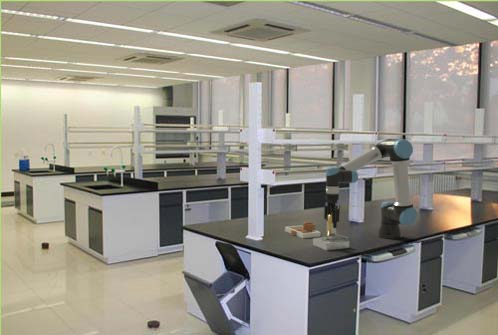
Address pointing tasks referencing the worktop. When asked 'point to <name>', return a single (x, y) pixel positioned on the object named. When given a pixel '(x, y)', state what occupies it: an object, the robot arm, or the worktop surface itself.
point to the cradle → (302, 235)
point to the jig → (332, 242)
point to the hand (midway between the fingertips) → (331, 232)
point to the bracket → (304, 228)
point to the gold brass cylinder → (330, 226)
